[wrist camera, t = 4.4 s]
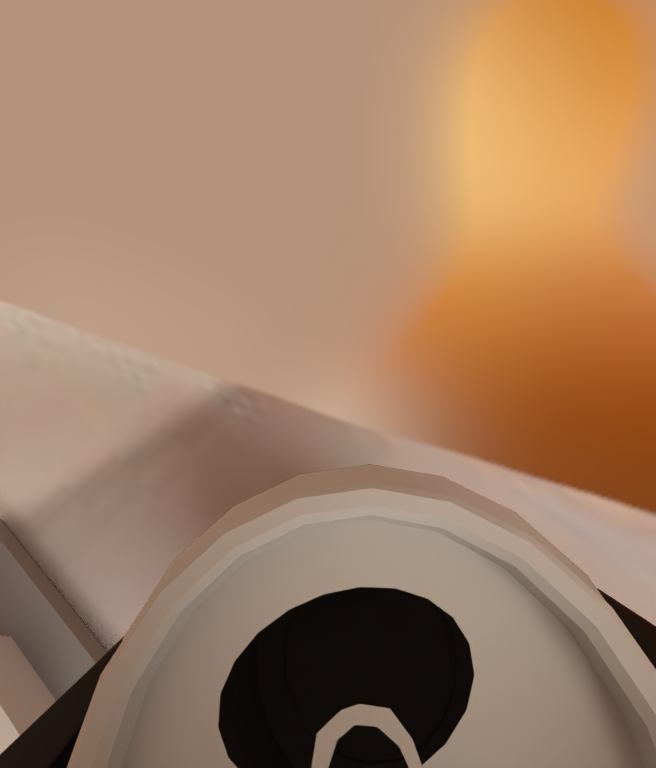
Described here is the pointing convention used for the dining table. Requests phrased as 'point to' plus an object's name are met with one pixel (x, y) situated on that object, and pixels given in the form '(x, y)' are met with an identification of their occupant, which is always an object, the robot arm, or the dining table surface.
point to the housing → (35, 641)
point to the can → (373, 642)
